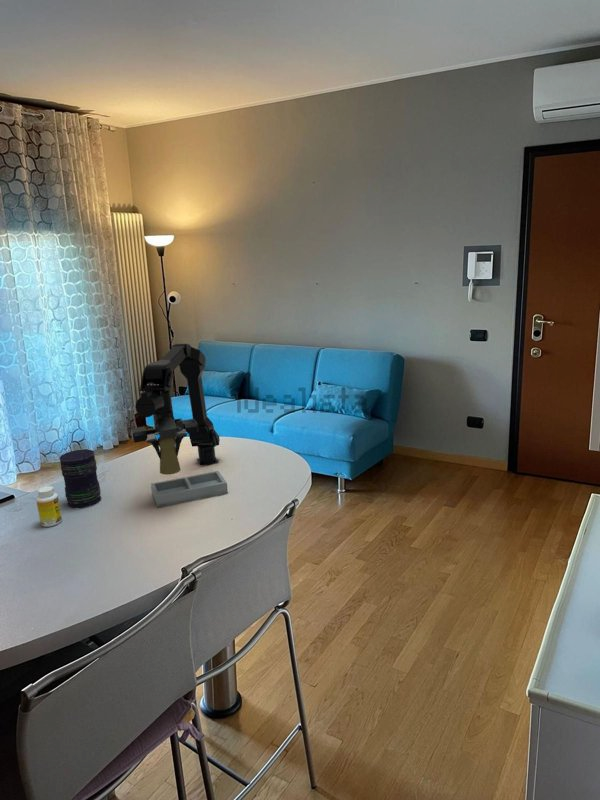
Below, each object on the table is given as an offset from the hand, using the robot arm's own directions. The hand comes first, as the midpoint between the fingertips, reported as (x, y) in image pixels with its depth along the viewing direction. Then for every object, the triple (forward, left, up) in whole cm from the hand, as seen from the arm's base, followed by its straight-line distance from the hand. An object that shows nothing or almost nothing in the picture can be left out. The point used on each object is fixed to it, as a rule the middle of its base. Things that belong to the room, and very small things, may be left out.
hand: (168, 457), depth 172 cm
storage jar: (-10, -25, -13) cm, 30 cm away
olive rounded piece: (0, 0, -4) cm, 4 cm away
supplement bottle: (+1, -34, -13) cm, 36 cm away
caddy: (0, +5, -13) cm, 13 cm away
